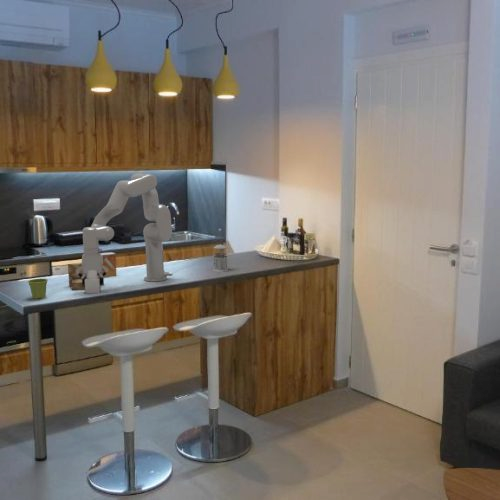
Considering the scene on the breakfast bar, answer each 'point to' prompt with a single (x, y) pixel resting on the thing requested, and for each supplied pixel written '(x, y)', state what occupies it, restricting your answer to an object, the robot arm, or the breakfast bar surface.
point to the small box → (109, 263)
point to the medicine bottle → (92, 282)
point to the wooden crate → (77, 277)
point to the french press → (220, 259)
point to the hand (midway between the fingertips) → (93, 285)
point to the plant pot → (38, 288)
